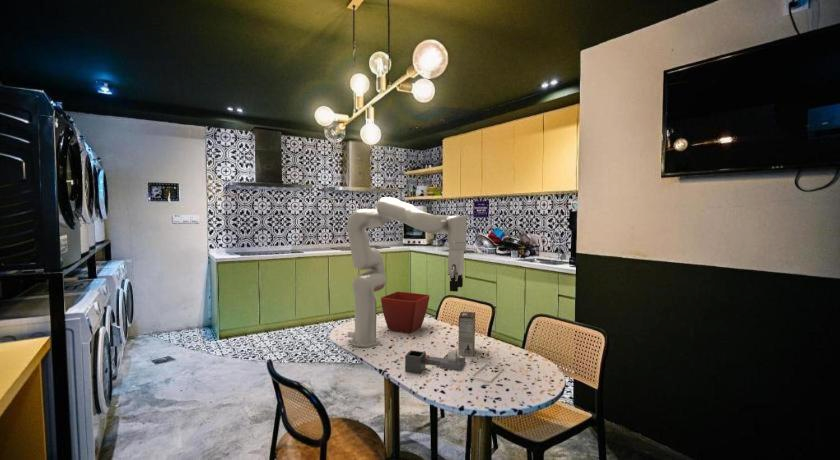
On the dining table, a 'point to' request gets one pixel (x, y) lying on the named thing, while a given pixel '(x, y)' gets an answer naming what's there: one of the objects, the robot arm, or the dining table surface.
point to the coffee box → (466, 333)
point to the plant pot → (404, 311)
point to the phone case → (486, 379)
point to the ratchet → (447, 361)
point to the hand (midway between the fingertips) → (456, 289)
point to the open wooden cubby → (415, 361)
